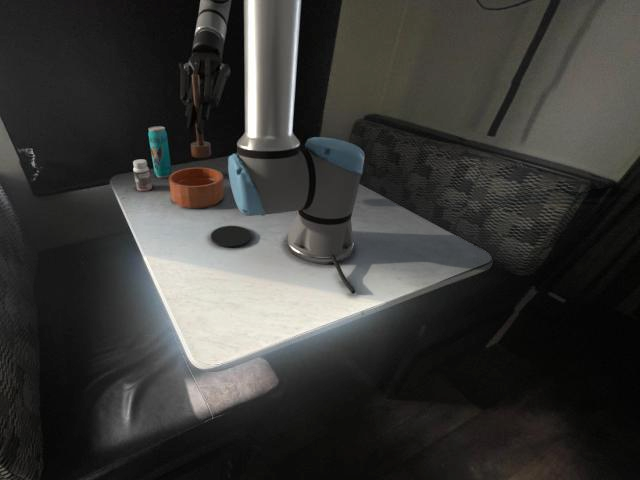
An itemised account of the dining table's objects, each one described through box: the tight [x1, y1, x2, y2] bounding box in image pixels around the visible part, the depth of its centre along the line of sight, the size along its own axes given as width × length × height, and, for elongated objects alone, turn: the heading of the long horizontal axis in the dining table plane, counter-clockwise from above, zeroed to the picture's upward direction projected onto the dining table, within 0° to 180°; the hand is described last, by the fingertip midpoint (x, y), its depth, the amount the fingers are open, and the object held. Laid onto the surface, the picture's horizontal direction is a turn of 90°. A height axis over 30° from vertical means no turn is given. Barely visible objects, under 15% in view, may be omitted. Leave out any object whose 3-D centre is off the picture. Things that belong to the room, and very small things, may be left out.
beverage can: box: [148, 125, 172, 179], centre depth 110 cm, size 6×6×15 cm
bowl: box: [168, 167, 225, 209], centre depth 98 cm, size 16×16×6 cm
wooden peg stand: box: [190, 73, 212, 159], centre depth 84 cm, size 5×5×18 cm
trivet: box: [210, 225, 252, 249], centre depth 82 cm, size 10×10×1 cm
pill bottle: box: [132, 158, 153, 191], centre depth 104 cm, size 5×5×8 cm
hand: (194, 130), depth 82 cm, fingers closed on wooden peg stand, 2 cm apart
